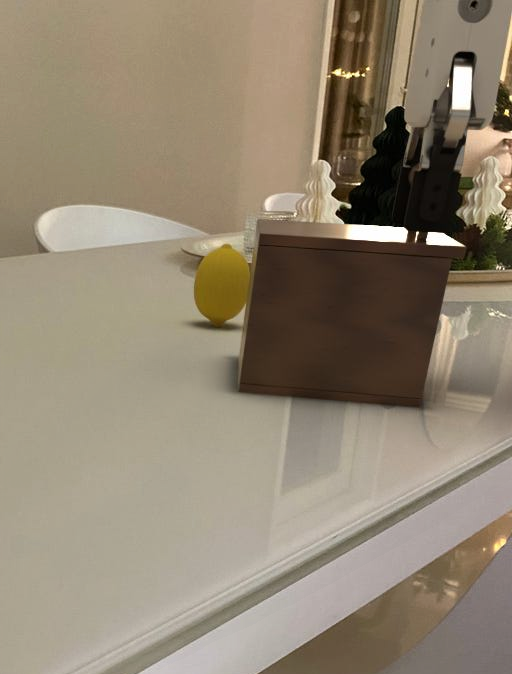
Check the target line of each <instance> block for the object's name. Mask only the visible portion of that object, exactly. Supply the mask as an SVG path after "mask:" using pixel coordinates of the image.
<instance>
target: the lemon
mask: <svg viewBox="0 0 512 674" xmlns="http://www.w3.org/2000/svg"><path fill="white" fill-rule="evenodd" d="M250 270H251V269H250V267H249V263H248V261H247V259H246V258H245V256H244V255H243V254H242V253H241V252H240V251H238V250H237V249H235V248H234V247H232V244H230V243H223V244H222V245H221V246H220V247H218V248H216V249H213V250H211V251H209V253H207V254H206V255H205V256H204V257H203V258H202V260H201V261H200V263H199V266H198V268H197V270H196V273H195V276H194V277H195V278H194V282H193V283H194V284H193V298H194V304H195V307H196V309H197V310H198V312H199V313H200V314H201V315H202V316H203V317H205V318H207V320H209V321H210V323H211V325H212V326H213V327H216V328H217V327H219V328H220V327H221V326H223V325H224V324H225V323H226V322H228V321H229V320H232V319H234V318H235V317H237V316H238V315H239V314H240V313H241V312H242V310H243V309H244V308H245V307H246V300H247V293H248V285H249V278H250Z"/></svg>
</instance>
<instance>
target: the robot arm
mask: <svg viewBox="0 0 512 674" xmlns="http://www.w3.org/2000/svg"><path fill="white" fill-rule="evenodd" d="M511 19H512V0H423V3H422V6H421V12H420V18H419V23H418V27H417V33H416V37H415V43H414V49H413V55H412V60H411V66H410V71H409V77H408V84H407V90H406V98H405V104H404V115H403V118H404V119H403V120H404V121H405V123H406V124H407V125H408V126H409V127H411V128H410V131H409V136H408V140H407V143H406V148H405V152H404V156H403V165H402V166H400V168H399V169H400V170H399V174H398V175H399V176H398V181H397V187H396V192H395V197H394V201H393V207H392V211H391V212H392V213H391V220H392V222H394V223H395V224H403V228H404V229H405V230H407V231H413V232H428V233H443V234H446V233H448V232H449V231H450V229H451V227H452V226H451V225H452V222H453V217H454V212H455V207H456V202H457V198H458V194H459V189H460V183H461V179H462V173H461V172H462V169H463V166H464V158H465V151H466V144H467V139H468V138H467V137H468V131H482V130H484V129H485V128H487V127H488V126H489V125H490V124H491V123H492V121H493V117H494V114H495V109H496V103H497V98H498V92H499V86H500V82H501V76H502V70H503V65H504V59H505V55H506V48H507V44H508V43H507V42H508V37H509V31H510V25H511ZM418 163H420V165H419V171H414V173H413V178H412V183H411V185H410V183H409V173H410V171H411V169H412V168H413V167H414V166H415V165H416V164H418Z"/></svg>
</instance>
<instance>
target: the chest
mask: <svg viewBox="0 0 512 674" xmlns="http://www.w3.org/2000/svg"><path fill="white" fill-rule="evenodd" d="M254 234H255V235H254V242H253V249H252V255H251V256H252V257H251V264H250V269H249V270H250V278H249V285H248V293H247V300H246V304H245V307H244V316H243V323H242V331H241V337H240V338H241V339H240V345H239V346H240V347H239V353H238V370H237V372H238V374H237V376H238V381H237V391H238V393H247V394H256V395H257V394H258V395H268V396H269V395H270V396H281V397H290V398H291V397H293V398H304V399H305V398H306V399H315V400H327V401H337V402H348V403H349V402H350V403H360V404H361V403H363V404H373V405H383V406H395V407H407V408H417V409H419V408H421V403H422V399H423V396H424V391H425V387H426V381H427V376H428V372H429V368H430V363H431V358H432V354H433V349H434V345H435V340H436V335H437V330H438V327H439V322H440V317H441V313H442V307H443V304H444V299H445V293H446V290H447V285H448V279H449V275H450V270H451V266H452V262H453V258H450V257H435V256H420V255H405V254H390V253H375V252H360V251H345V250H330V249H315V248H300V247H285V246H270V245H259V244H258V237H257V230H256V229H255V233H254Z"/></svg>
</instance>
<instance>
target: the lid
mask: <svg viewBox="0 0 512 674" xmlns="http://www.w3.org/2000/svg"><path fill="white" fill-rule="evenodd" d="M419 165H420V163H418V164H416V165H415V166H414V167H413V168H412V169H411V171H410V173H409V183H410V185H411V183H412V178H413V173H414V171H419ZM256 230H257V237H258V244H259V245H270V246H285V247H300V248H315V249H330V250H345V251H360V252H375V253H390V254H405V255H420V256H435V257H450V258H451V259H465V256H466V252H467V246H466V245H464V244H463V243H460V242H459V241H457V240H455V239H454V238H451V237H450V236H448V235H446V233H428V232H413V231H407V230H405V229H404V227H398V226H397V227H394V226H379V225H364V224H349V223H335V222H334V223H333V222H318V221H317V222H316V221H302V220H301V221H300V220H285V219H271V218H257V219H256V226H255V231H256Z"/></svg>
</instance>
